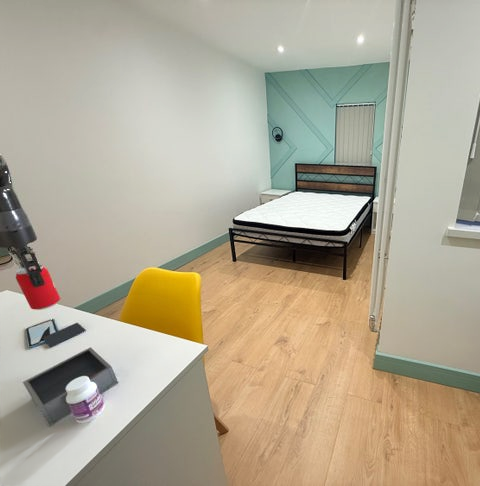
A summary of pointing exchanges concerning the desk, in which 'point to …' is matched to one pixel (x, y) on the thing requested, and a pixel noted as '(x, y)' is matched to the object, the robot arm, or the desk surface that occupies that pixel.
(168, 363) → the desk surface
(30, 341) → the smartphone
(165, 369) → the desk surface
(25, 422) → the desk surface
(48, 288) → the beverage can
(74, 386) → the pill bottle
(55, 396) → the basin
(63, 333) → the mat
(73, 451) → the desk surface
